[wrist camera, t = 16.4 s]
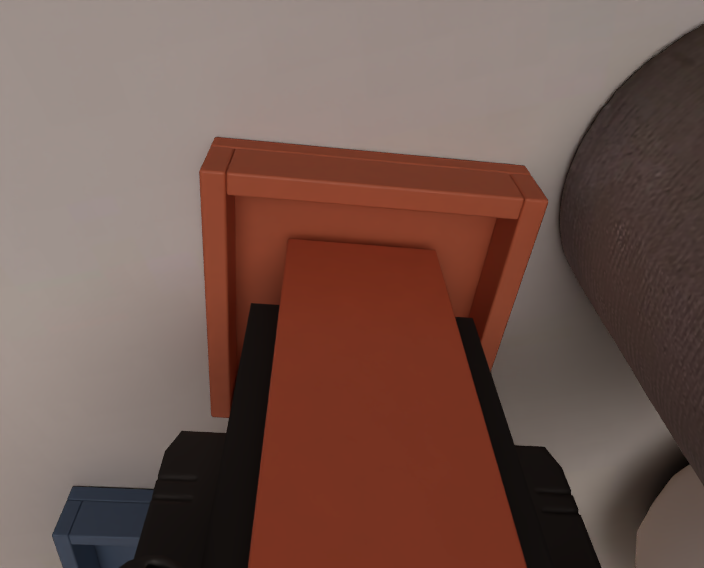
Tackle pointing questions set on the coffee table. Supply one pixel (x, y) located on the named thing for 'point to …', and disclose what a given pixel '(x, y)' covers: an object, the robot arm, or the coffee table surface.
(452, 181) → the terracotta tray
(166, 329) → the coffee table surface
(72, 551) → the slate tray
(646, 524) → the cup
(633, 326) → the pillar candle
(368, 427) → the terracotta block
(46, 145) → the coffee table surface
